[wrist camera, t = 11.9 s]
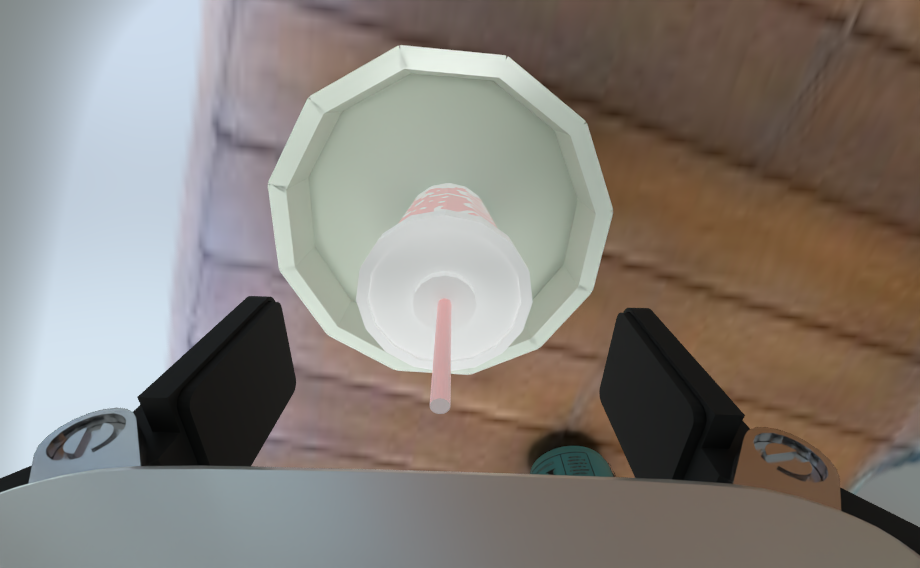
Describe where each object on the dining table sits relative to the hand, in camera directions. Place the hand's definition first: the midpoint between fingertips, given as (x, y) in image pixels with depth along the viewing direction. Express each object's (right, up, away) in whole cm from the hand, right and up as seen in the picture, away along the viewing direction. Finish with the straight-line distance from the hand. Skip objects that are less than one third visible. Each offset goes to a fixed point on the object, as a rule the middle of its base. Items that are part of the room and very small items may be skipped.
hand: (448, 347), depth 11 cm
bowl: (-1, +6, +11) cm, 13 cm away
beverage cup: (0, +5, +11) cm, 12 cm away
